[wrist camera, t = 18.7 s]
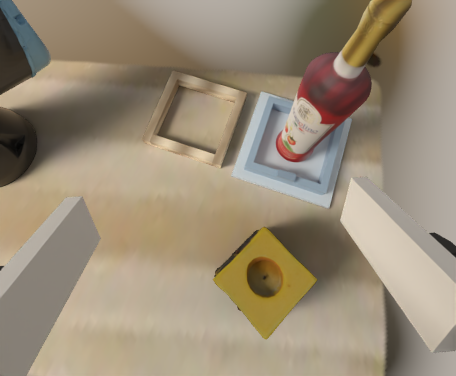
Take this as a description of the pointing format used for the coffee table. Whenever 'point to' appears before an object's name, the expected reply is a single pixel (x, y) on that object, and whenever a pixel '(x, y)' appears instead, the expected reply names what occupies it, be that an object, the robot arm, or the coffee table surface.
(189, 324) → the coffee table surface
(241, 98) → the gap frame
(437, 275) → the robot arm
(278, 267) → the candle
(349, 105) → the liquor
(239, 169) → the tray
